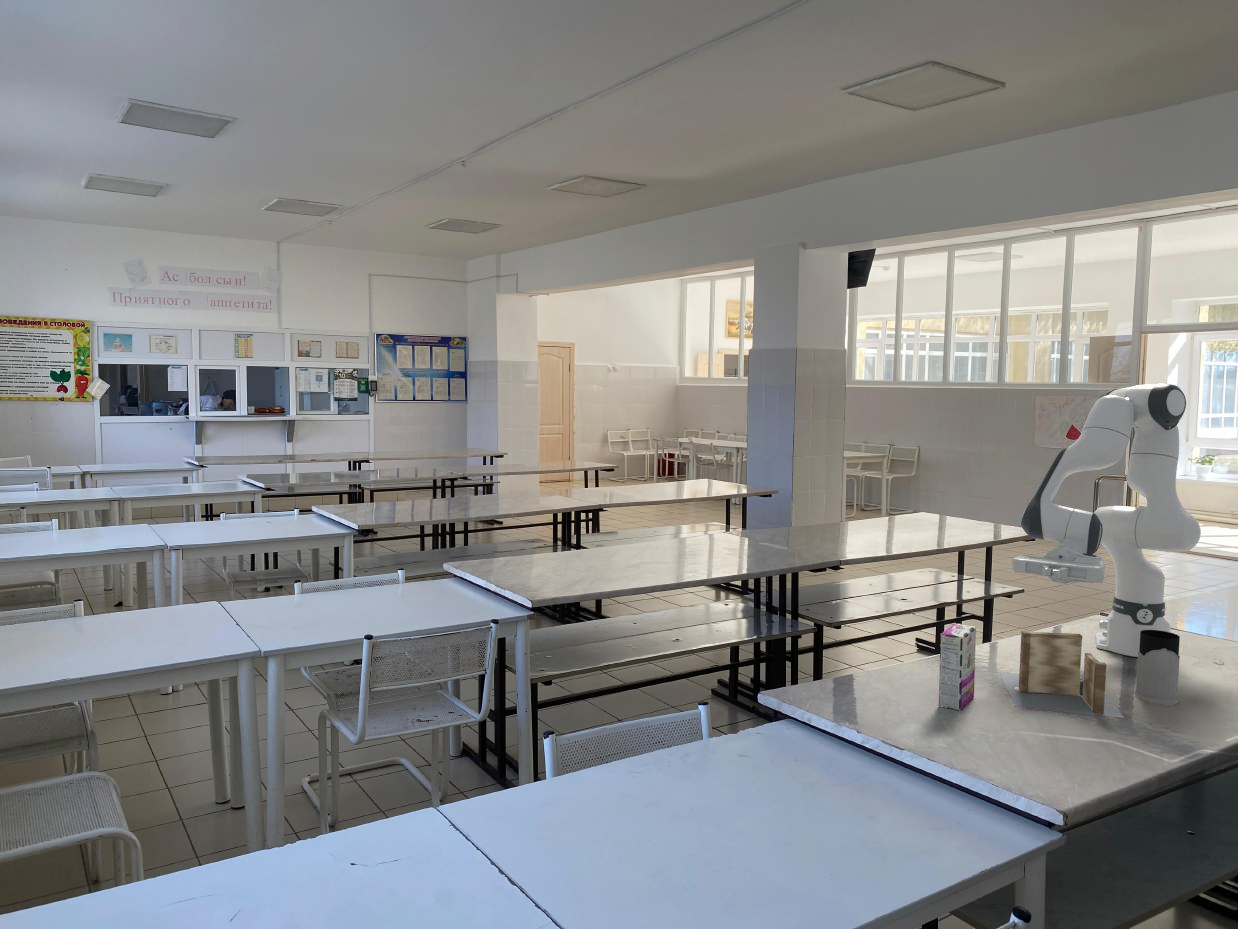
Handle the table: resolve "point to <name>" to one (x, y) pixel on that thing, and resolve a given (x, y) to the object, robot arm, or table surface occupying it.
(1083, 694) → the bar
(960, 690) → the candy bar box
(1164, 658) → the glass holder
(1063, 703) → the card
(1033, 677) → the brown wooden panel
